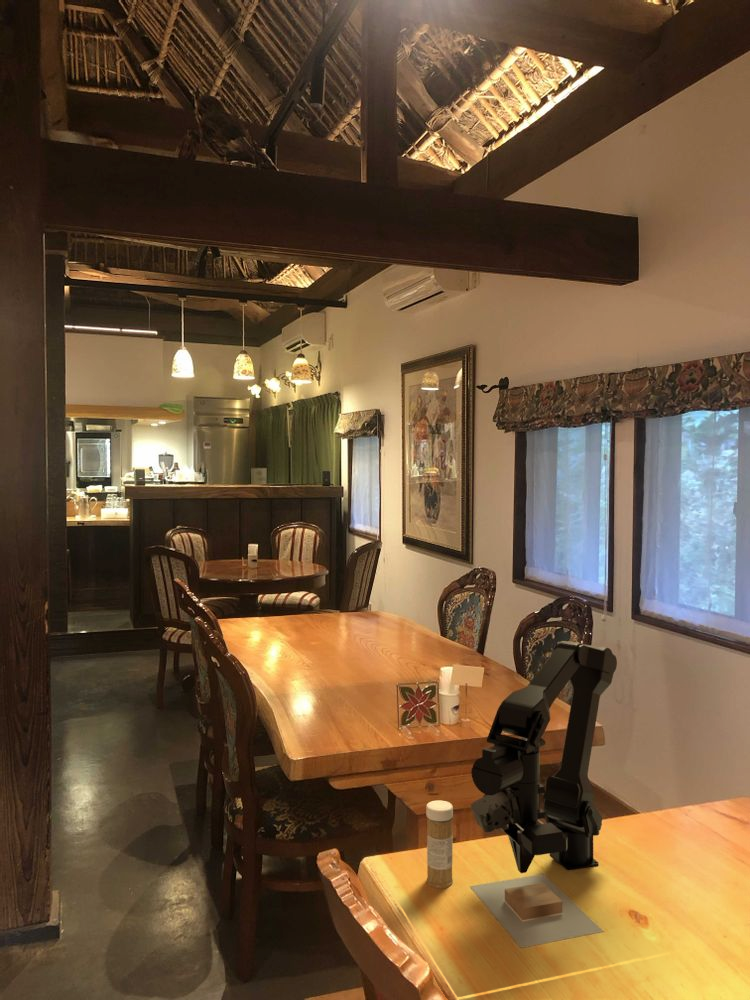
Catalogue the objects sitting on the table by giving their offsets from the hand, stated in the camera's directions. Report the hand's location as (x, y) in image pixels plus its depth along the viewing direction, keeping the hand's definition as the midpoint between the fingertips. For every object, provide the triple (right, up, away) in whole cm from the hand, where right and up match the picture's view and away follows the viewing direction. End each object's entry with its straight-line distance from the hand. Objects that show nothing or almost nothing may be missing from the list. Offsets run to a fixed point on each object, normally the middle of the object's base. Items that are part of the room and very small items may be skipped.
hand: (522, 871), depth 121 cm
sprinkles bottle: (-13, -5, +5) cm, 15 cm away
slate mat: (+1, -4, -3) cm, 6 cm away
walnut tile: (0, -3, -1) cm, 3 cm away
